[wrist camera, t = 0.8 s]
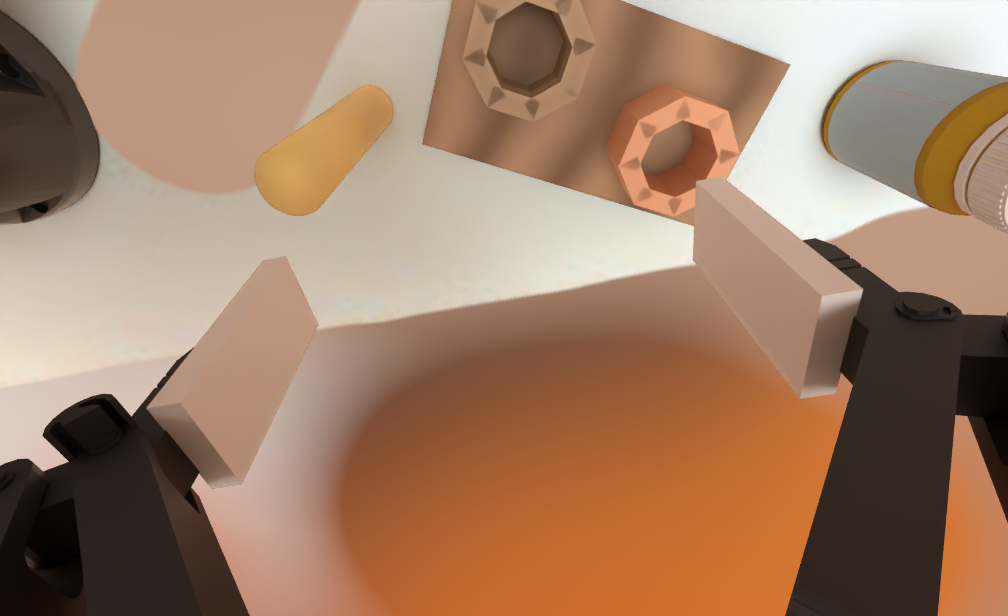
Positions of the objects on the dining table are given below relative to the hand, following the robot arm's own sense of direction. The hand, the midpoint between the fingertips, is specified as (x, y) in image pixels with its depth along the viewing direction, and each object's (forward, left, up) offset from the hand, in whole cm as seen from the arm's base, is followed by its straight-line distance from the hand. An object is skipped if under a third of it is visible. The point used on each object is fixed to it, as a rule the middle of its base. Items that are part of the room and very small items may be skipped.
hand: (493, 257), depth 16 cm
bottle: (+26, +8, -23) cm, 35 cm away
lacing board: (+7, +3, -22) cm, 24 cm away
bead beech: (+1, +5, -21) cm, 22 cm away
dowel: (-8, -2, -22) cm, 24 cm away
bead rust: (+12, +2, -21) cm, 24 cm away
